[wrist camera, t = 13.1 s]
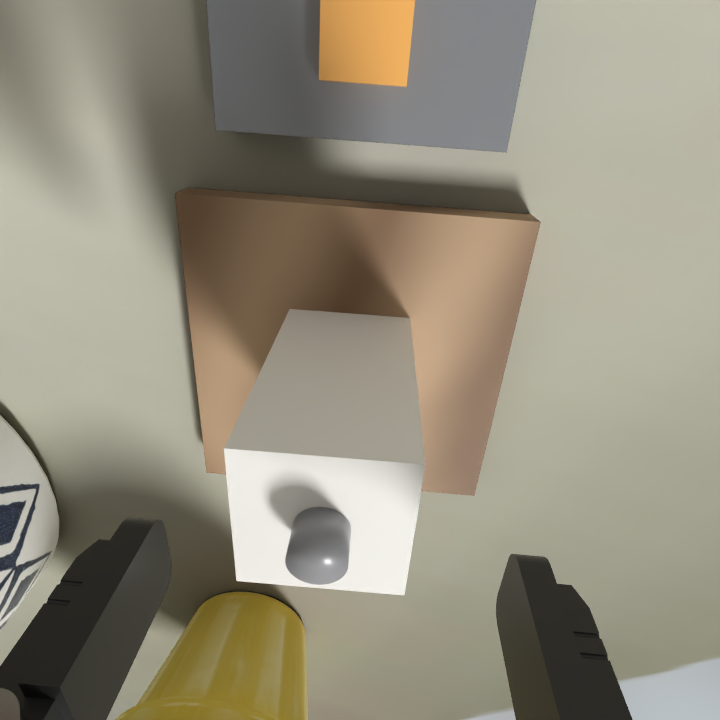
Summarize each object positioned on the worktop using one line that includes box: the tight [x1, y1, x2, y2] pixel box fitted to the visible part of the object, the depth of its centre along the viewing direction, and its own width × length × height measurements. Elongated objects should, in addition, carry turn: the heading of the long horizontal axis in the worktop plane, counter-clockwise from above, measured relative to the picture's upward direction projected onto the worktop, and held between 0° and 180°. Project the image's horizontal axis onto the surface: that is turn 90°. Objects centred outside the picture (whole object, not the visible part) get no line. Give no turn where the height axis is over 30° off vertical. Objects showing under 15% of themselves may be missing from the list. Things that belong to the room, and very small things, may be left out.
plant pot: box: [116, 592, 308, 720], centre depth 24 cm, size 10×10×10 cm
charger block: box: [224, 309, 425, 595], centre depth 15 cm, size 4×4×9 cm
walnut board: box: [175, 188, 541, 496], centre depth 19 cm, size 12×12×1 cm
